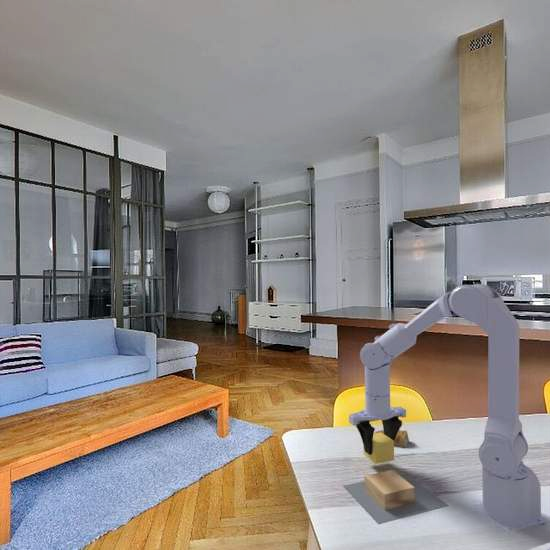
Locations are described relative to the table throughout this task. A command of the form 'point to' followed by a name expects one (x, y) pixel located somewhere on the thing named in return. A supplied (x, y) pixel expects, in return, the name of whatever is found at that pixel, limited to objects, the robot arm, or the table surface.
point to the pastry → (399, 438)
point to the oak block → (389, 489)
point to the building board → (422, 504)
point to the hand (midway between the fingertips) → (378, 450)
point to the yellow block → (381, 449)
